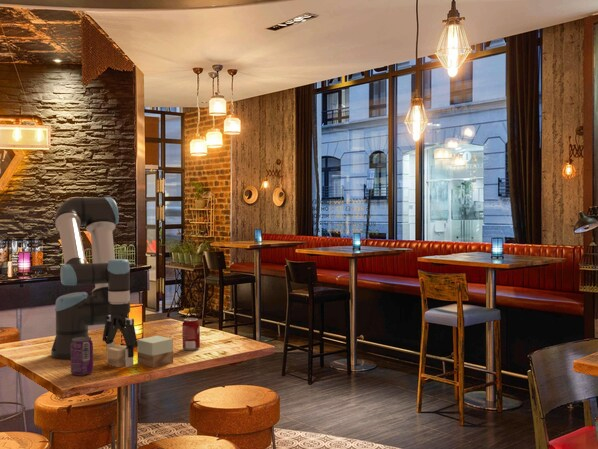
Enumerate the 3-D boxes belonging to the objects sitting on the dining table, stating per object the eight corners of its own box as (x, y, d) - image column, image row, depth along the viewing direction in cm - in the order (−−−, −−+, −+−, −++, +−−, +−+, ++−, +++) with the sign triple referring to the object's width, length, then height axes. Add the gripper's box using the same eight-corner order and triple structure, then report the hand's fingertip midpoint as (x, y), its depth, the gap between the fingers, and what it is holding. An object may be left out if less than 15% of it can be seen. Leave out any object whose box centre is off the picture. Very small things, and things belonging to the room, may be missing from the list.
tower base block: (153, 368, 219) (153, 355, 219) (137, 364, 225) (137, 352, 225) (173, 363, 226) (173, 351, 226) (157, 359, 232) (157, 347, 232)
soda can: (196, 351, 243) (195, 321, 242) (179, 350, 244) (179, 320, 244) (202, 347, 249) (202, 317, 249) (186, 346, 251) (186, 317, 250)
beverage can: (95, 370, 216) (95, 336, 215) (89, 376, 209) (88, 340, 208) (75, 370, 216) (74, 336, 215) (68, 376, 208) (67, 341, 208)
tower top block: (152, 355, 219) (152, 343, 219) (137, 351, 225) (137, 339, 225) (172, 351, 226) (172, 338, 226) (158, 347, 232) (157, 335, 232)
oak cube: (117, 367, 220) (117, 350, 220) (107, 364, 224) (107, 348, 223) (132, 364, 225) (131, 347, 224) (122, 361, 228) (121, 345, 228)
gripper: (147, 304, 219) (148, 366, 220) (109, 298, 233) (110, 356, 234) (129, 307, 213) (130, 371, 214) (91, 300, 227) (92, 360, 228)
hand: (120, 363), depth 224 cm, fingers open, 10 cm apart
